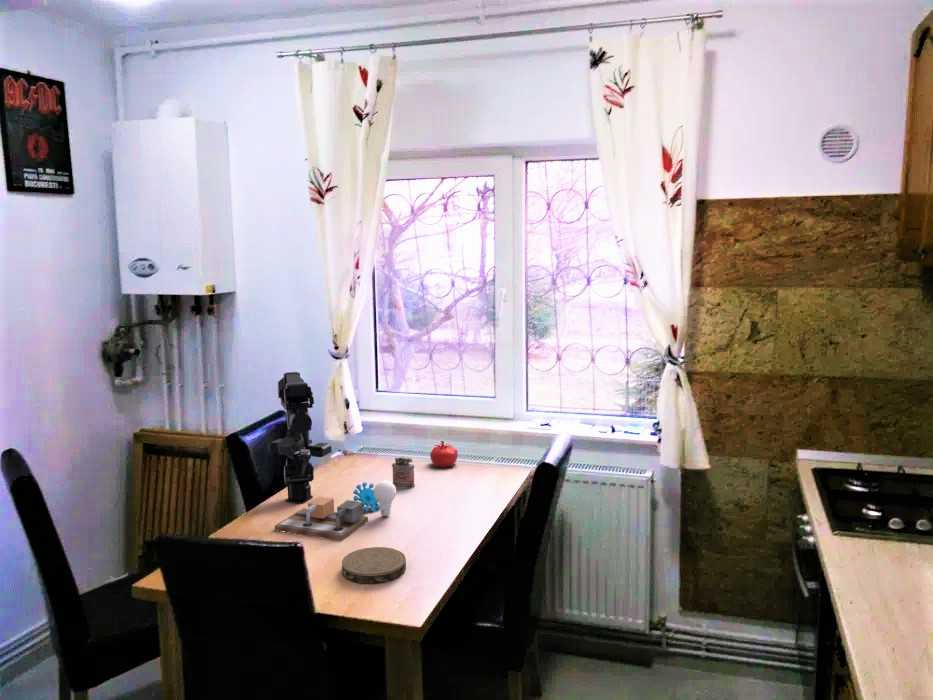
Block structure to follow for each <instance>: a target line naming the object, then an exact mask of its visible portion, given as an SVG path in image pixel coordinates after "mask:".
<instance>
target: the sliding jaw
mask: <svg viewBox="0 0 933 700" xmlns="http://www.w3.org/2000/svg"><path fill="white" fill-rule="evenodd" d="M306 508H307V509H306V518H307V525H309V524H310V517H316V518H325V517H326V516H328V515H329V514H331V513H332V512H335V500H334V498H333V497H324V496H317V497H316V498H314V499H313V500H311V501H310V502H308V503H307V507H306Z"/></svg>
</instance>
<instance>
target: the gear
mask: <svg viewBox="0 0 933 700" xmlns="http://www.w3.org/2000/svg"><path fill="white" fill-rule="evenodd" d="M367 485H368V483H367V482H363V483H362V484H357V485H356V486H355V489H354V490H353V492H352V493H353V495H354V496H353V501H358V502H363V512H368V510H369V511H370V512H371V513H374V512H375V511H376V510H377V511H379V510H381V509H380V505H379V502H378V501H377V499H376V498H375V496H374V488H375V486H374V484H373V483H370V484H369V485H368V488H367ZM375 506H376V507H375ZM369 507H371V508H370V509H369Z"/></svg>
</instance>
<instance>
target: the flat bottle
mask: <svg viewBox="0 0 933 700" xmlns="http://www.w3.org/2000/svg"><path fill="white" fill-rule="evenodd" d="M394 461H395V462H393V463H391V467H392V483H393V484H394V486H396V487H395V488H401V487H402V488H403V489H414V488H415V487H416V484H415V464H413V458H412V457H411V458H410V457H405V456H400V457H399V456H395V458H394Z"/></svg>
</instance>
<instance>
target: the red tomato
mask: <svg viewBox="0 0 933 700" xmlns="http://www.w3.org/2000/svg"><path fill="white" fill-rule="evenodd" d="M458 454H459V453H458V450H457V449H456V448H455V447H454V446H453V445H452V444H450V443H449V442H448V443H446V444H445V441H444V440H441V441H440V443H439V444H436V445H434V447H433V449H432V450H431V452H430V455H429V456H430V460H431V462H432V464H433V466H434V467H436V468H447V467H452V466H454V465H455V463H457V460H458V456H459V455H458Z"/></svg>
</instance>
